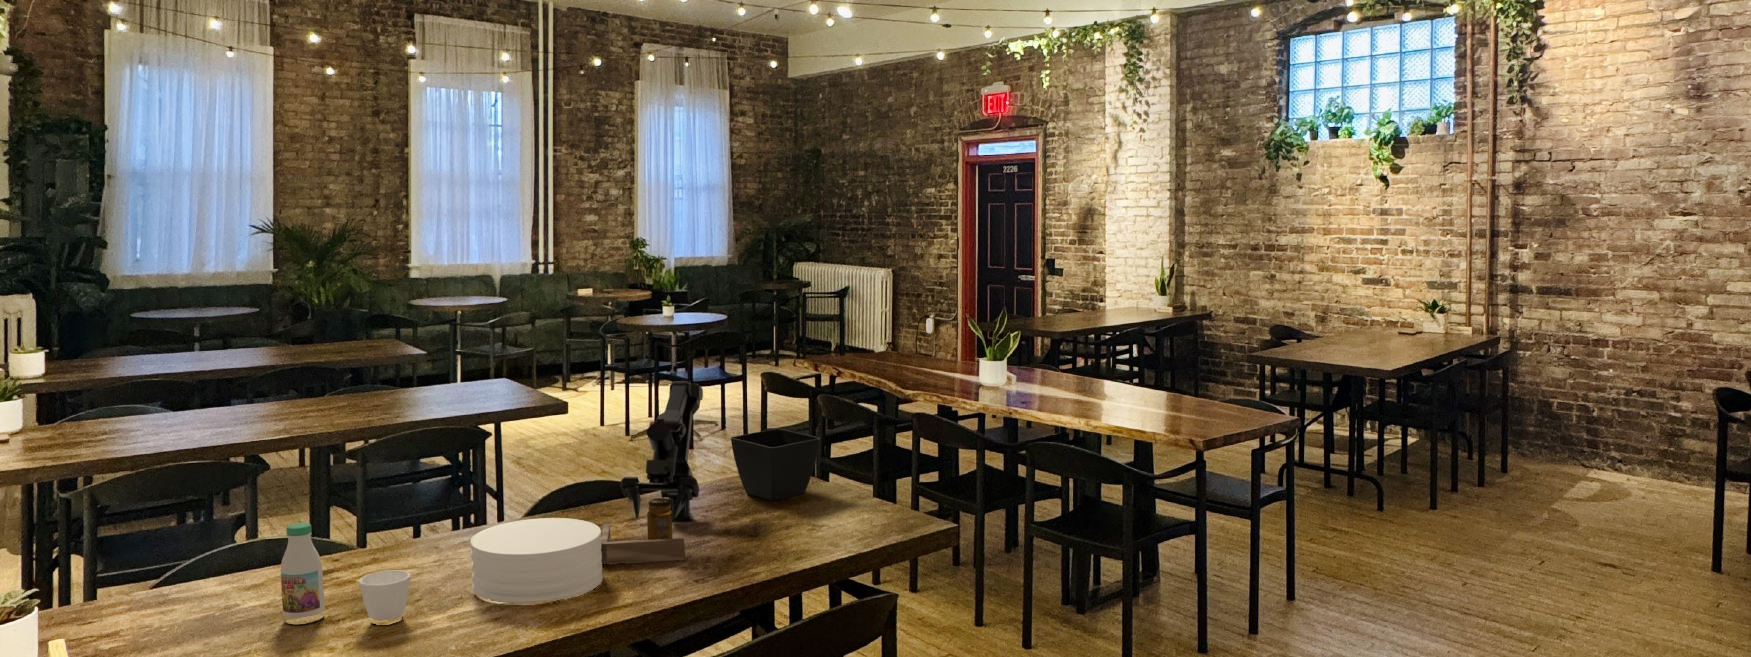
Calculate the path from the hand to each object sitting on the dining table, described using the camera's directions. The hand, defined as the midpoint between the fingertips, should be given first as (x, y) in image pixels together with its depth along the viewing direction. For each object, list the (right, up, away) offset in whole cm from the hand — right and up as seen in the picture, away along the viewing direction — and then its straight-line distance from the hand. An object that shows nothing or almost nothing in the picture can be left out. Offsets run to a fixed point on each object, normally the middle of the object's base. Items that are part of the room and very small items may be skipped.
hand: (655, 517), depth 288 cm
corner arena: (-3, -8, 0) cm, 9 cm away
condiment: (+1, -8, +1) cm, 8 cm away
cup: (-47, -14, -46) cm, 67 cm away
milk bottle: (-64, -14, -45) cm, 79 cm away
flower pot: (+25, -2, +54) cm, 60 cm away
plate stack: (-22, -12, -23) cm, 34 cm away
